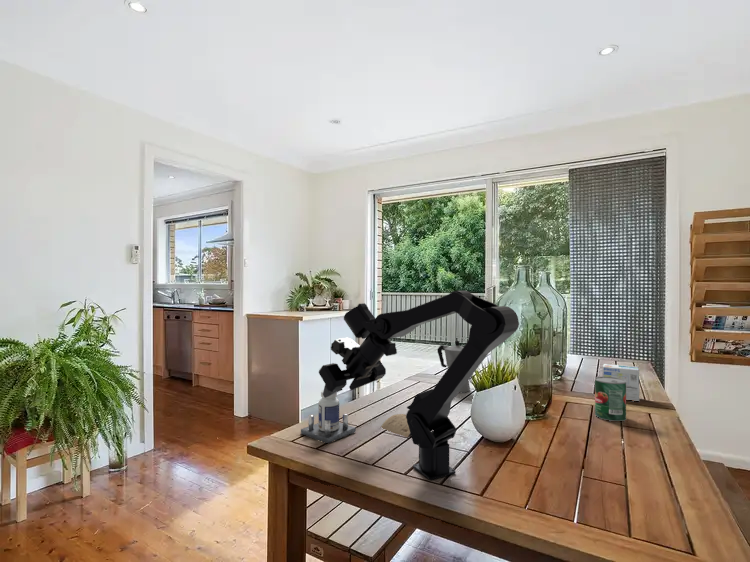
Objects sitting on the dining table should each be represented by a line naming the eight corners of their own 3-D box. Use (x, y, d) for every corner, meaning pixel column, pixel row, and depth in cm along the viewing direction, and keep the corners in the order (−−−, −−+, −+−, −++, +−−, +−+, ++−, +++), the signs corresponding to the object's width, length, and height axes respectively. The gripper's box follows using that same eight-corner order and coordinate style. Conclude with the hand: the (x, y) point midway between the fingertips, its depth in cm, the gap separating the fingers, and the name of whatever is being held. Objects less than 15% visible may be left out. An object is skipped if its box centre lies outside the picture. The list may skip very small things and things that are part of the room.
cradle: (355, 432, 105) (355, 414, 105) (327, 443, 97) (327, 424, 97) (329, 423, 112) (329, 406, 112) (300, 433, 104) (300, 415, 104)
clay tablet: (407, 440, 101) (407, 429, 101) (376, 431, 107) (376, 421, 107) (437, 425, 112) (437, 415, 112) (407, 417, 118) (407, 408, 118)
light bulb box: (639, 397, 137) (639, 366, 137) (639, 402, 131) (639, 369, 131) (603, 393, 142) (603, 362, 143) (602, 397, 137) (602, 366, 137)
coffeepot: (480, 390, 146) (479, 341, 146) (465, 395, 139) (465, 343, 140) (445, 383, 157) (445, 337, 157) (430, 387, 150) (430, 339, 151)
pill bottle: (343, 426, 106) (343, 389, 106) (332, 433, 101) (332, 394, 101) (325, 423, 108) (325, 387, 108) (314, 430, 103) (314, 392, 103)
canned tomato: (588, 414, 119) (588, 377, 119) (609, 412, 121) (608, 375, 122) (611, 423, 111) (611, 383, 112) (633, 420, 114) (632, 381, 114)
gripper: (376, 324, 106) (347, 362, 113) (323, 330, 92) (294, 373, 99) (400, 357, 101) (368, 394, 108) (348, 369, 87) (315, 411, 94)
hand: (337, 392), depth 102 cm, fingers open, 9 cm apart
